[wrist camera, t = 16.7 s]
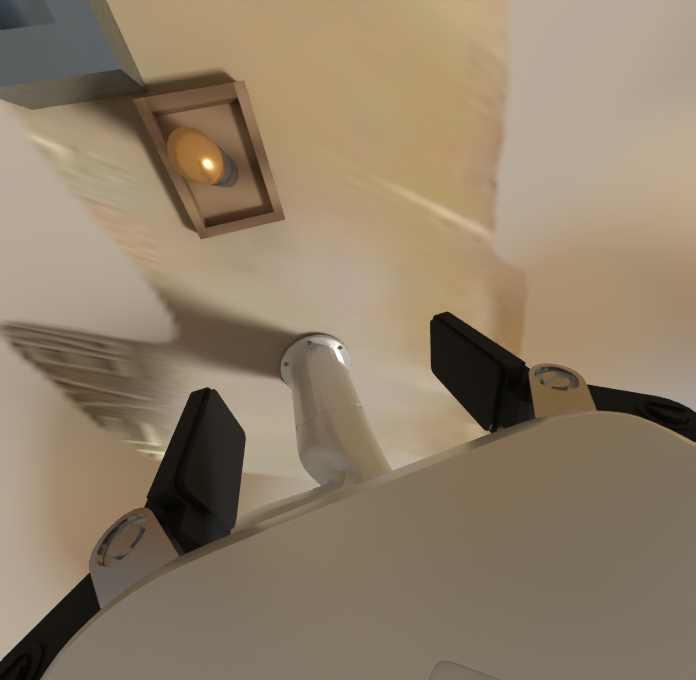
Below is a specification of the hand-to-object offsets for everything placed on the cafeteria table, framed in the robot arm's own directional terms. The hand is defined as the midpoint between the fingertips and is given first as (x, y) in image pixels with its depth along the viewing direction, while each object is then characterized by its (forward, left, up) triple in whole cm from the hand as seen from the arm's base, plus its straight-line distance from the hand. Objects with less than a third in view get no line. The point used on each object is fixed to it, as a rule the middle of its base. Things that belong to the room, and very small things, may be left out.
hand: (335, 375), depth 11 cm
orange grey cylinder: (+10, +5, -27) cm, 29 cm away
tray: (+10, +5, -28) cm, 30 cm away
